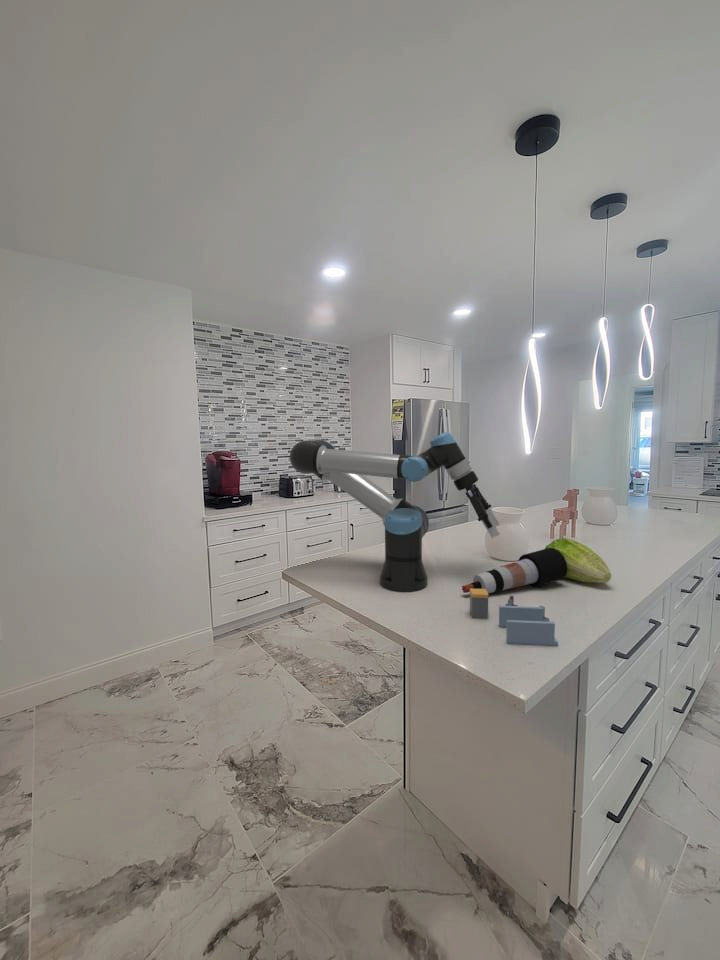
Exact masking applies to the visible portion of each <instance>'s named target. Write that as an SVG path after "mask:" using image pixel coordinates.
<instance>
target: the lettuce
mask: <svg viewBox="0 0 720 960" xmlns="http://www.w3.org/2000/svg"><path fill="white" fill-rule="evenodd" d="M547 548H554V549H556V550H558V551H559V552H560V553H561V554H562V555H563V556H564V558H565V560H566V562H567V568H568V570H567V575H566V576H565V577H564V578H566V579H570V580H574V581H578V582H582V583H608V582H609V581H610V580H611V579H612V573H611V570H610V569H609V567H608V565H607V564H606V562H605V561H604V560H603V558H602V557H600V556H599V555H598V554H597V553H596V552H595V551H593V550H592V549H591V548H589V546H587V545H585V544H582V543H580V542H578V541H577V540H576V541H575V540H572V539H570V538H566V537H565V538H558V539H554V540H553V541H551V542H550V543H548V544H547V545H546V546H545V548H544V549H547Z"/></svg>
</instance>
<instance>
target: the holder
mask: <svg viewBox="0 0 720 960" xmlns="http://www.w3.org/2000/svg"><path fill="white" fill-rule="evenodd" d="M498 626H499V627H500V628H506V631H505V632H506V633H505V634H506V637H505V638H506V640H505V641H506V643H507V644H511V645H512V644H514V645H515V644H516V645H534V646H535V645H537V646H539V645H540V646H559V642H558V640H557V639H556V637H555V631H556V630H555V627H556V623H555V622H554V621H548V622H546V621H543V608H542V607H539V606H522V605H521V606H519V605H518V606H505V605H498Z"/></svg>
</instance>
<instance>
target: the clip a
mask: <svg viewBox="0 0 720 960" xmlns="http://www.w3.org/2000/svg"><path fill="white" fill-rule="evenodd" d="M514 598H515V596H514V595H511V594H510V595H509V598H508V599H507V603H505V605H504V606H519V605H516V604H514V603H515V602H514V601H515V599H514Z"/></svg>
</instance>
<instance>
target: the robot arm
mask: <svg viewBox="0 0 720 960" xmlns="http://www.w3.org/2000/svg"><path fill="white" fill-rule="evenodd" d="M429 444H430V447H429V448H428V449H426V450H425V451H423V452H422V453H419V454H417V455H406V454H405V455H404V454H393V453H392V454H391V453H380V452H371V451H369V452H368V451H361V450H360V451H358V450H357V451H356V450H347V449H336V448H335V447H334V445H333V444H331V442H328V441H326V440H322V439H316V440H301V441H299V442H297V443H296V444H294V445H293V447H292V448H291V450H290V452H289V461H290V465H291V466H292V467H293V469H294V470H295V471H297V472H298V473H301V474H305V475H308V474H314V475H315V476H316V477H317V478H318V479H320V480H321V481H323V482H326V481H330V482H331V483H333V485H335V486H337V487H338V488H339V489H341V490H342V491H344V492H345V493H346V494H348V495H349V496H350V497H352V498H353V499H354V500H356V501H357V502H359V503H360V504H362V505H363V506H364V507H366V509H368V510H369V511H371V512H373V513H374V514H375V515H377V516H378V517H379V518H380V519H382V520H381V521H382V524H383V526H384V548H385V549H384V555H385V556H384V559H385V560H384V562H383V566H382V569H381V572H380V574H379V584H380V585H381V587H383V588H385V589H387V590H390V591H395V592H414V591H415V592H416V591H420V590H422V589H425V588H426V587H427V586H428V574H427V571H426V568H425V567H424V563H423V555H422V554H423V550H422V549H423V548H422V547H423V544H422V543H423V537H424V536H425V535H426V533H427V532H428V530H429V525H430V524H429V522H430V520H429V517H428V514H427V513H426V511H425V510H424V509H423V508H422V507H420V506H418V505H414V504H411V503H410V502H409V501H407V500H405V499H404V498H395V497H394V496H392V495H391V494H390V493H389V492H387V491H386V490H385V489H383V488H381V487H380V486H379V485H377V484H376V483H374V482H373V481H372V480H370V478H367V477H366V476H370V477H378V478H379V477H382V478H390V479H392V478H393V479H399V480H407V481H410V482H412V483H416V482H420V481H422V480H423V479H425V478H426V477H428V475H430V474H432V473H433V472H435V471H437V470H438V469H441V468H444V469H445V472H446V473H447V474H448V476H449V478H450V479H451V481H453V484H454V486H455V487H456V489H457V491H463V490H465V491H466V492H465V495H466V497H467V498H468V500H469V501H470V504H471V506H472V507H473V509H474V511H475V513H476V516H477V517H478V518H477V520H478V522H482V524H483V526H484V528H485V529H486V531H487V532H488V534H489V536H490V537H491V539H494V538H495V537H498V536H500V535H501V533H500V532H499V530H498V528H497V527H498V526H501V523H500V522H499V521H498V520H499V519H497V517H496V515H495V514H494V512H493V511H492V509H491V508H492V505H491V503H488V501H487V499H486V498H485V497H484V496H483V495H482V493H481V491H480V489H479V487H477V485H476V484H475V483H477V482H478V481H479V478H478V476H477V474H476V472H475V471H474V470H472V467H471V464H470V463H471V461H470V460H467V458H466V457H465V454H464V453H463V451H462V449H461V448H460V446H459V444H458V443H457V441H456V439H454V437H453V435H452V434H451V433H450V431H449V432H448V431H444V432H442V433H440V434H439V435H438V436H436V437H433V439H431V440H430V441H429Z"/></svg>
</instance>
